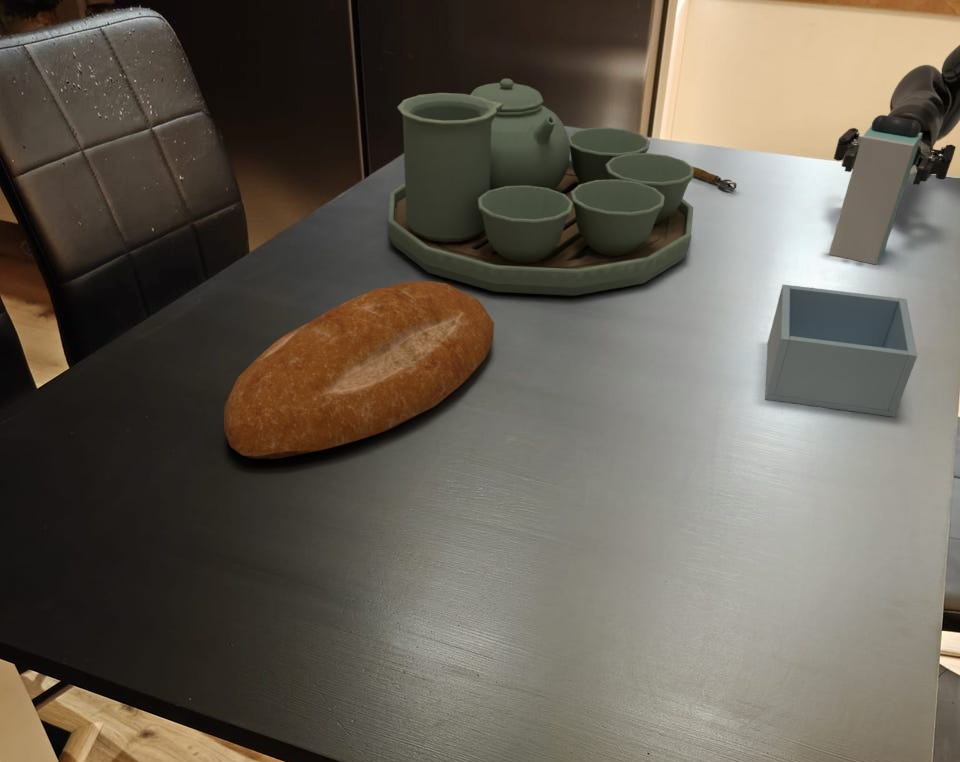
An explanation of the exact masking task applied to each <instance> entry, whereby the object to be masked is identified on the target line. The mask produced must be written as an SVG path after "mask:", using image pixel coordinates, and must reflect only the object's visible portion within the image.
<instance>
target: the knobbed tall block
mask: <svg viewBox="0 0 960 762" xmlns="http://www.w3.org/2000/svg"><path fill="white" fill-rule="evenodd" d="M920 129H921V127H920V124H919V122H918V121H915V120H910V119H904V118H898V117H892V116H888V115H886V114H882V115H881V114H880V115H878V116H876V117H874V119H873V120H872V123H871V125H870V127H868V129H867V130H866V132H865V133H864V134H863V135H862V136H861V137H862V139H861V142H860V146H859V149H858V153H857V156H856V160H855V164H854V167H853V169H852V171H851V174H850V178H849V182H848V185H847V189H846V192H845V196H844V199H843V203H842V206H841V210H840V213H839V217H838V221H837V224H836V228H835V230H834V234H833V237H832V241H831V242H832V243H831V245H830V247H829V252H828V255H829V256H834V257H839V258H844V259H849V260H853V261H858V262H862V263H866V264H867V263H868V264H872V265H877V263H878V262H879V260H880V258H881V256H882V255H883V253H884V251H885V250H886V247H887V244H888V241H889V238H890V235H891V232H892V229H893V226H894V223H895V220H896V216H897V213H898V211H899V207H900V204H901V200H902V198H903V195H904V193H905V189H906V186H907V183H908V180H909V176H910V175H911V174H910V170H911V167H912V164H913V161H914V158H915V155H916V152H917V149H918V146H919V143H920V140H921V137H922V133H919V132H920Z"/></svg>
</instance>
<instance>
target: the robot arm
mask: <svg viewBox="0 0 960 762" xmlns="http://www.w3.org/2000/svg"><path fill="white" fill-rule="evenodd" d="M887 116H892V117H898V118H904V119H910V120H915V121H918V122H919V124H920V127H921V129H920V132H919V133H922V137H921V140H920V143H919V146H918V149H917V152H916V155H915V158H914V161H913V164H912V167H911V170H910V174H909V175H911V176H914V175H915V177H914V179H913V184H912V185H916V186H920V183H921V182H922V183H923V182H924V183H925V182H927V181H928V179H930V178H931V175H935V178H936V179H937V180H945V179H946V178H947V175H948V171H949V169H950V165H951V163H952V161H953V158H954V155H955V151H956V146H955V145H953V144H946V145H945V147H944V146H943V147H941V148H940V149H934V146H935V145H936V143H937V142H939V141H941V140H943V139H944V138H946V137H947V136H948V135H949V134H950V133H951V132H952V131H953V130H954V129H955V127H957V125H958V124H959V122H960V44H959V45H958V46H956V47H955V48H954V49H953V50H951V52H950V53H949V54H948V55H947V56H946V58H945V59H944V61H943V63H942V66H941V71H940V70H939V69H938V68H937V67H936V66H933V65H930V64H922V65H918V66H917V67H914V68H913V69H911V70H910V71H908V72H907V73H906V74H905V75H904V76H903V77H902V78H901V80H900V81H898V83H897V85H896V87H895V88H894V90H893V92H892V95H891V97H890V101H889V113H888V114H887ZM862 137H863V136H860V132H859V129H858V128H855V127H851V128H849V129H848V130H846V131H845V132H844V133H843V134H842V135H841V136H840V137H839V138H838V140H837V144H836V148H835V152H834V156H833V160H835V161H838V162H840V161H842V163H841V167H843V168H844V172H846V173H847V172H848V173H852V171H853V167H854V164H855V160H856V156H857V153H858V149H859V146H860V142H861V139H862Z"/></svg>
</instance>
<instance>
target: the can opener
mask: <svg viewBox="0 0 960 762" xmlns="http://www.w3.org/2000/svg"><path fill="white" fill-rule="evenodd" d="M692 167H693V168H694V174H693V177H696V178H698V179H701V180H706V181H709V182H711V183H713V184H718V186H719V187H720V188H722V189H723V190H724V189H725V190H729V191H730V190H731V191H736V190H737V189H736V188H737V183H736V182H735V181H734V182H732V180H730V179H722V178H721V177H720V176H719V175H715V174H713V173H710V172H708V171H706V170H704V169H701V168H699V167H696V166H692Z"/></svg>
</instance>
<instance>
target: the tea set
mask: <svg viewBox="0 0 960 762" xmlns="http://www.w3.org/2000/svg"><path fill="white" fill-rule="evenodd" d="M543 104H544V99H543V96H542V94H541V93H540V91H538V90H537V89H535V88H533V87H531V86H529V85H525V84H519V83H515V82H514V81H513V80H512V79H510V78H503V79H501V81H499V82H493V83H486V84H484V85H480V86H478V87H476V88H474V89H473V91H472V92H471V93H470V94H466V93H455V92H454V93H450V92H436V93H435V92H434V93H427V94H417V95H415V96H412V97H408V98H406V99H403V100H402V101H401V102H400V103H399V105H397V109H398V111H399V112H400V114H401V115H402V125H403V126H402V131H403V132H402V133H403V160H404V183H403V184H401V185H400V186H398V187H396V188H395V189H393V190H392V191H391V192H389V197H388V200H389V201H388V220H387V225H388V227H387V228H388V237H389V239H390V241H391V244H392V245H393V247H395V248H396V249H397V250H399V251H400V252H402V253H403V254H404V255H405V256H406V257H407V258H409V259H411V260H412V261H413V262H414V263H416V264H417V265H418V266H419V267H420V268H422V269H423V270H424V271H425V272H427V273H429V274H433V275H435V276H439V277H443V278H446V279H450V280H453V281H455V282H460V283H464V284H466V285H470V286H474V287H477V288H481V289H484V290H487V291H491V292H494V293H496V292H497V293H515V294H535V295H553V296H554V295H555V296H571V297H572V296H575V297H576V296H581V295H586V294H591V293H597V292H602V291H607V290H608V291H609V290H614V289H620V288H625V287H626V288H627V287H631V286H637V285H642V284H645V283H646V282H648V281H650V280H652V279H654V278H655V277H656V276H659V275H660V274H661V273H663V272H664V271H666V270H668V269H669V268H671V267H672V266H674V265H676V264H678V263H679V262H681V261H683V260H684V258H685V257H686V255H687V254H688V252H689V249H690V246H691V245H690V243H691V239H692V230H693V217H694V206H692V205H691V204H690V203H689V202H687V200H685V199H684V198H683V197H684V195H685V193H686V190H687V188H688V185H689V184H690V182H691V181H692V180H693V178H694V176H693V174H694V168H693V167H694V166H692V165H690V164H689V163H688V162H687V161H685V160H683V159H680V158H676V157H674V156H670V155H666V154H660V153H659V154H658V153H649V152H648V151H649V149H650V145H651V144H650V143H651V141H650V140H649V139H648V138H647V137H645V136H644V135H642V134H641V133H638V132H635V131H631V130H628V129H623V128H615V127H588V128H584V129H580V130H575V131H573V132H572V133H570V135H568V132H567V129H566V128H565V125H564V124H563V123H564V122H562V121H561V119H560V118H559V117H558V115H557V114H556V113H555V112H553V110H550V109H549V108H547V107H546V106H544V105H543Z"/></svg>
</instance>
